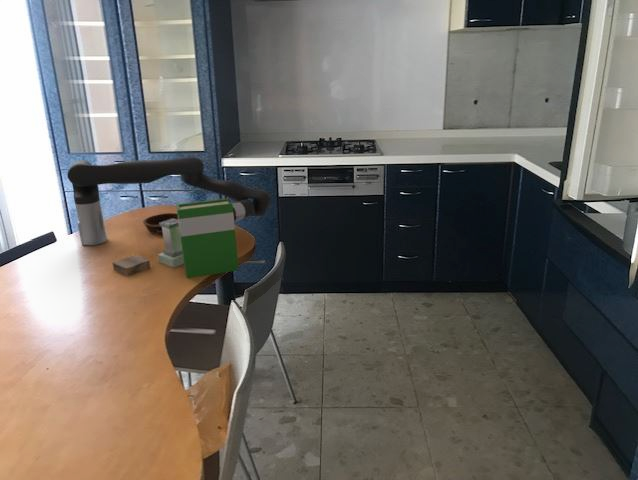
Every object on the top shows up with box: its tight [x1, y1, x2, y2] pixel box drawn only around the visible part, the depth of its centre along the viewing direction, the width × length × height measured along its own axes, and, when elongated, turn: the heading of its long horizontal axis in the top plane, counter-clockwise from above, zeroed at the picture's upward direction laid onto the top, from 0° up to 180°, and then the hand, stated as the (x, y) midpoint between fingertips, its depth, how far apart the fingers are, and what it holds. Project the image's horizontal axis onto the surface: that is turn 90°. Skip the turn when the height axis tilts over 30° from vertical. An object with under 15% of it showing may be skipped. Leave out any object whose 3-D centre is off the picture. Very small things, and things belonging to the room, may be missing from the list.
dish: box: [142, 212, 178, 236], centre depth 220 cm, size 18×22×5 cm
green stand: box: [157, 252, 184, 268], centre depth 185 cm, size 9×9×3 cm
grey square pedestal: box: [159, 218, 183, 258], centre depth 183 cm, size 6×6×12 cm
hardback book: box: [175, 197, 240, 279], centre depth 173 cm, size 18×7×24 cm, turn 108°
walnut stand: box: [112, 254, 151, 278], centre depth 180 cm, size 9×9×3 cm
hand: (197, 224), depth 190 cm, fingers open, 8 cm apart
